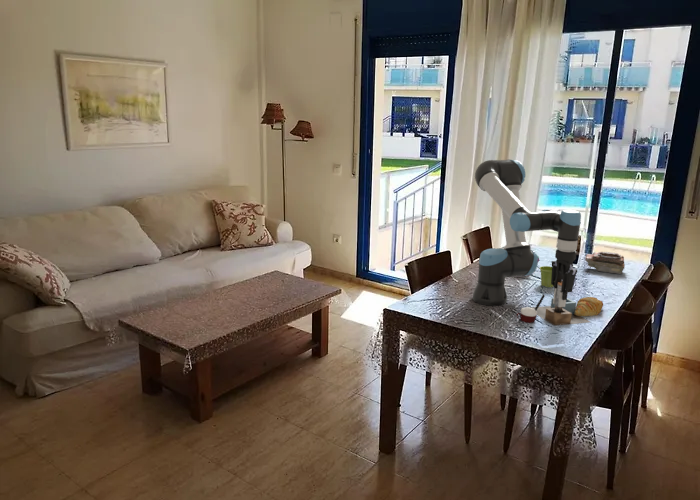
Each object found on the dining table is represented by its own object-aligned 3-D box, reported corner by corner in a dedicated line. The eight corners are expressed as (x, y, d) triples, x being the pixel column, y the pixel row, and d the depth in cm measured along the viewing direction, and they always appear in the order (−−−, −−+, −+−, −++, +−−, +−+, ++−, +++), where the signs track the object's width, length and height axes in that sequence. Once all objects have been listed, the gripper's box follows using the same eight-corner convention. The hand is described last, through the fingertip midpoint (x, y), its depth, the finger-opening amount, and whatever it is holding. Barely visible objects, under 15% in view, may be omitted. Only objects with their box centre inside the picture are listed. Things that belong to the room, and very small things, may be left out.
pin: (556, 318, 216) (561, 283, 212) (551, 315, 219) (556, 281, 215) (562, 318, 217) (567, 283, 213) (558, 315, 220) (562, 280, 216)
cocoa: (515, 322, 216) (518, 294, 213) (518, 317, 222) (520, 290, 219) (539, 327, 212) (543, 298, 209) (542, 322, 218) (545, 294, 214)
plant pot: (554, 283, 267) (556, 266, 265) (560, 289, 258) (562, 272, 256) (535, 282, 268) (537, 265, 266) (540, 288, 259) (542, 271, 257)
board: (554, 327, 212) (554, 325, 212) (526, 309, 231) (526, 307, 231) (590, 324, 216) (590, 322, 216) (560, 306, 235) (560, 304, 235)
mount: (555, 324, 214) (556, 314, 213) (545, 317, 220) (546, 308, 219) (570, 322, 215) (571, 313, 214) (559, 316, 222) (560, 307, 221)
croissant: (580, 327, 221) (591, 314, 216) (562, 310, 226) (572, 297, 221) (604, 315, 234) (615, 302, 229) (586, 299, 239) (597, 286, 234)
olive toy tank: (622, 277, 277) (624, 260, 275) (581, 271, 287) (583, 254, 285) (624, 271, 288) (627, 254, 286) (585, 265, 298) (587, 249, 296)
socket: (560, 315, 223) (561, 303, 222) (550, 309, 230) (551, 298, 228) (574, 313, 225) (576, 302, 223) (564, 307, 231) (565, 297, 230)
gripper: (587, 254, 204) (579, 311, 210) (562, 243, 218) (555, 297, 225) (570, 255, 202) (563, 313, 208) (545, 244, 217) (539, 298, 223)
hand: (558, 304), depth 216 cm, fingers closed on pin, 3 cm apart
